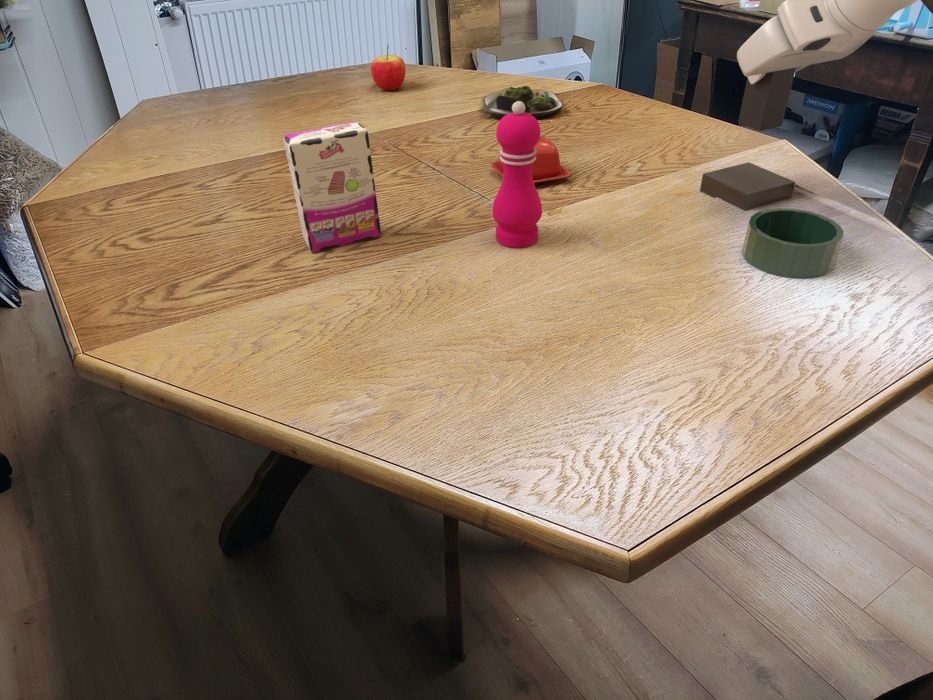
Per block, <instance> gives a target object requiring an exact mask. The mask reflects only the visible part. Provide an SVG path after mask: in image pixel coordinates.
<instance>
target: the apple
mask: <svg viewBox="0 0 933 700" xmlns="http://www.w3.org/2000/svg"><path fill="white" fill-rule="evenodd" d="M386 46H387V47H386V55H380V56H377V57H375V58H374V59H372V61H371V65H370V73H371V77H372V80H373V82H374V83H375V85H376V86H377V87H378V88H379V89H381V90H383V89H384V90H383V91H387V90H391V91H393V90H392V89H396V90H397V88H398V89H399V88H400V87H401V86H402V85H403V83H404V80H405V78H406V64H405V63H406V62H405V61H404V59H403V58H402V57H401V56H398V55H394V54H392V55H391V54H389V46H390V45H389V44H387V45H386Z"/></svg>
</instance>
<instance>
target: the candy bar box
mask: <svg viewBox="0 0 933 700" xmlns="http://www.w3.org/2000/svg"><path fill="white" fill-rule="evenodd" d="M282 141H283V145H284V149H285V155H286V159H287V160H286V161H287V164H288V168H289V175H290V179H291V184H292V189H293V194H294V198H295V203H296V208H297V213H298V218H299V223H300V228H301V233H302V238H303V241H304V242H305V244H306V245H307V247H308V249H309V251H310V253H311V254H314V253H317V252H322V251H326V250H331V249H335V248H340V247H344V246H347V245H352V244H357V243H360V242H364V241H368V240H372V239H373V240H374V239H376V238H379V237H380V238H381V237H382V230H381V229H382V228H381V222H380V221H381V220H380V214H379V207H378V199H377V191H376V185H375V176H374V175H375V174H374V168H373V160H372V154H371V146H370V138H369V131H368V128H366V127H365V126H363V124H361V123H360V122H359V121H353V122H347V123H340V124H334V125H329V126H324V127H319V128H313V129H308V130H304V131H297V132H293V133H292V132H291V133H287V134H282Z"/></svg>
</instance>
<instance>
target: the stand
mask: <svg viewBox="0 0 933 700" xmlns="http://www.w3.org/2000/svg"><path fill="white" fill-rule="evenodd" d="M795 186H796V181H794V180H792V179H790V178H788V177H786V176H782V175H780V174H778V173H775V172H773V171H771V170H768V169H765V168H763V167H761V166H759V165H757V164H754V163H752V162H744V163H740V164H736V165H732V166H728V167H724V168H720V169H715V170H712V171H708V172H704V173H702V177H701V183H700V188H699V189H700V190H699V191H700V192H702V193H704V194H706V195H708V196H709V197H712V198H714V199H716V198H717V199H720V200H721V201H724V202H725V203H728V204H730V205H731V206H734V207H736V208H738V209H740V210H742V211H745V212H746V211H749V210H752V209H756V208H760V207H763V206H767V205H771V204H774V203H778V202H781V201H785V200H787V199H792V196H793V193H794V189H795Z"/></svg>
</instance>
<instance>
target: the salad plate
mask: <svg viewBox="0 0 933 700" xmlns="http://www.w3.org/2000/svg"><path fill="white" fill-rule="evenodd" d="M517 101H521V102H523V103H524V105H525V111H524V112H525V113H528V114H530V115H532V116H534V117H535V118H536V120H537V121H538V120H545V119H550V118H553V117H554V118H555V116H557V114H559V113H560V112H561V110H562V109H563V104H562V102H561V101H560V99H559V98H558V96H557V95H556V94H555V93H553V92H551V91H550V92H549V91H543V90H533V89H532V88H531V87H530V86H529V85H526V84H524V85H522V86H521V87H519V86H518V85H517V84H514V85H513V86H510V87H507V88H506V89H505V90H503V92H500V93H494V94H491V95H488V96H485V99H484V102H485V105H484V106H483V108H481V110H482V111H483V112H485V113H487V114H490V115H491V116H492V117H493V118H494V117H495V119H497V120H499V121H500V120H501V119H502V118H503V117H504V116H506V115H507V114H509V113H513V111H512V105H513V104H514V103H515V102H517Z"/></svg>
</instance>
